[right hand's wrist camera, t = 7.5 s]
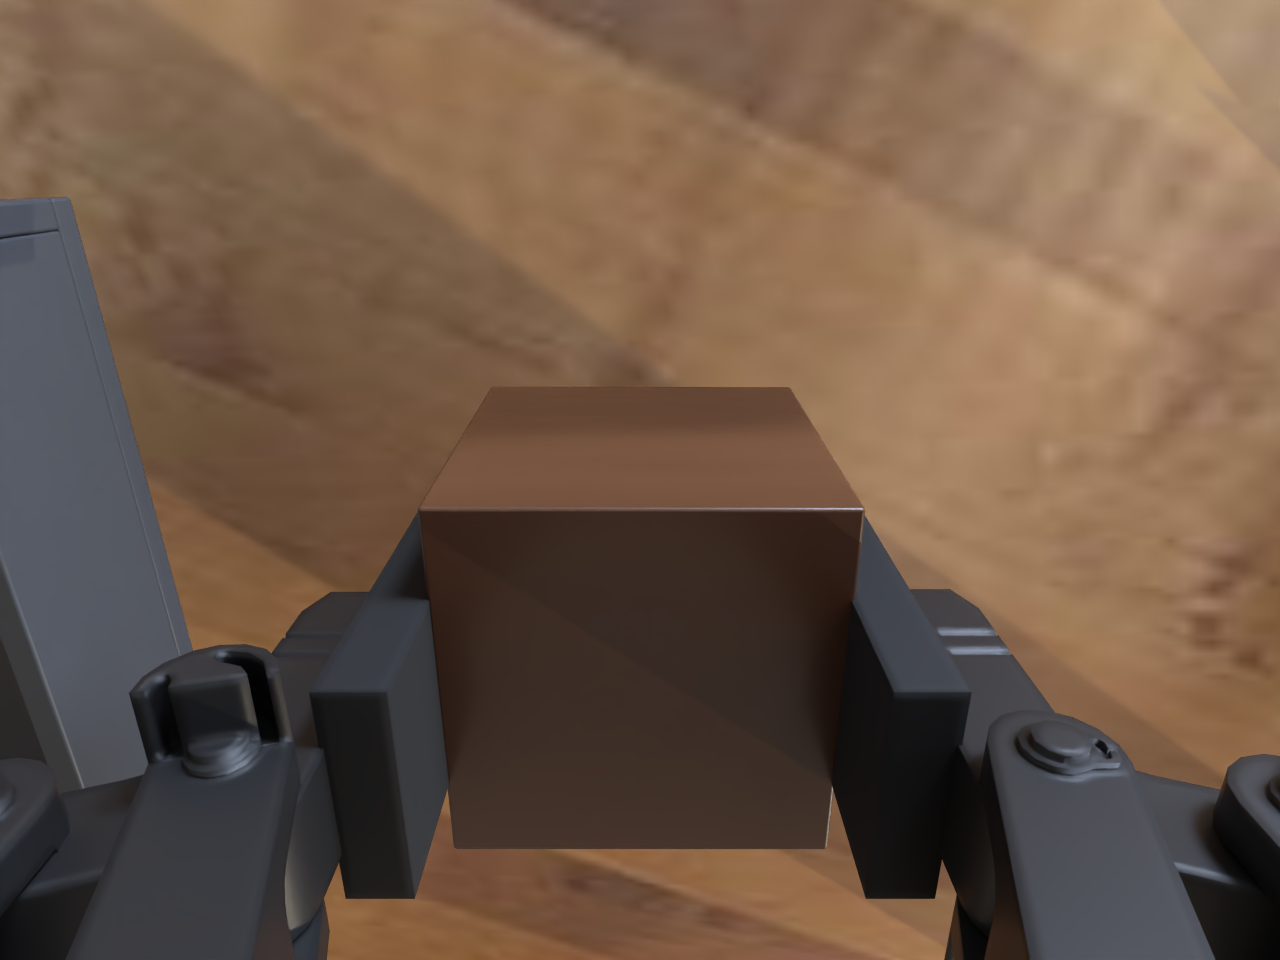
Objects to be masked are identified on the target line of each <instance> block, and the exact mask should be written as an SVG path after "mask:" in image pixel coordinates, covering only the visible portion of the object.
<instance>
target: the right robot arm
mask: <svg viewBox="0 0 1280 960" xmlns="http://www.w3.org/2000/svg"><path fill="white" fill-rule="evenodd" d="M129 696H130V699H131V703H132V707H133V710H134V714H135V718H136V721H137V725H138V728H139V732H140V736H141V739H142V743H143V747H144V750H145V754H146V757H147V761H148V766H147V768H146V770H145V773H144V774H143V775H140V776H136V777H133V778H129V779H125V780H121V781H116V782H112V783H107V784H102V785H98V786H93V787H88V788H83V789H79V790H74V791H69V792H65V793H61V791H60V788H59V785H58V782H57V779H56V776H55V773H54V771H53V770H52V769H51V768H50V767H48V766H47V765H46V764H44V763H43V762H42V761H39V760H32V759H25V758H11V759H3V760H0V960H327V951H328V941H329V925H328V918H327V912H326V907H325V902H324V896H325V894H326V892H327V889H328V887H329V884H330V882H331V880H332V877H333V875H334V873H335V870H336V868H337V865H338V863H340V869H341V875H342V880H343V886H344V891H345V897H346V899H415V896H416V892H417V889H418V886H419V882H420V879H421V876H422V872H423V869H424V866H425V862H426V859H427V856H428V852H429V849H430V846H431V842H432V839H433V836H434V832H435V829H436V826H437V822H438V819H439V815H440V812H441V809H442V805H443V802H444V799H445V795H446V792H447V789H448V785H449V779H448V770H447V761H446V751H445V742H444V733H443V724H442V715H441V706H440V696H439V687H438V678H437V669H436V660H435V650H434V641H433V632H432V623H431V614H430V604H429V600H428V599H427V590H426V581H425V571H424V562H423V553H422V543H421V534H420V525H419V515H418V513H417V514H416V516H415V518H414V519H413V521H412V523H411V524H410V526H409V528H408V529H407V531H406V533H405V534H404V536H403V538H402V539H401V541H400V542H399V544H398V546H397V547H396V549H395V551H394V552H393V554H392V556H391V557H390V559H389V561H388V562H387V564H386V566H385V567H384V569H383V571H382V572H381V574H380V576H379V577H378V579H377V581H376V582H375V584H374V585H373V587H372V589H371V590H370V592H330V593H329V594H327V595H326V596H324V597H323V598H321V599H320V600H318V601H317V602H315V603H314V604H312V605H311V606H309V607H308V608H306V609H305V610H303V611H302V612H301V614H300V615H299V616H298V618H297V619H296V620H295V622H294V623H293V625H292V626H291V627H290V629H289V630H288V631H287V633H286V638H282V640H281V641H280V642H279V644H278V645H277V647H276V648H275V649H274V651H273V652H272V654H271V653H270V652H269V651H268V650H266V649H264V648H259V647H255V646H251V645H246V644H241V645H218V646H214V647H209V648H204V649H200V650H195V651H191V652H189V653H186V654H184V655H181V656H179V657H176V658H174V659H171V660H169V661H167V662H164V663H163V664H161V665H160V666H158V667H157V668H155V669H154V670H152V671H151V672H149V673H147V674H146V675H144V676H143V677H142V678H141V679H140V680H139V682H138V683H137V684H136V685H135V686H134V687H133V689H132V690H131V691H130V692H129ZM832 787H833V790H834V794H835V797H836V800H837V804H838V807H839V810H840V814H841V817H842V820H843V824H844V827H845V830H846V834H847V837H848V840H849V844H850V847H851V850H852V854H853V857H854V860H855V864H856V867H857V871H858V874H859V877H860V881H861V884H862V887H863V891H864V894H865V897H866V899H935V895H936V889H937V884H938V878H939V872H940V867H941V861H942V860H943V862H944V865H945V867H946V869H947V872H948V874H949V876H950V879H951V881H952V884H953V886H954V888H955V891H956V893H957V896H956V902H955V907H954V912H953V917H952V923H951V928H950V933H949V938H948V943H947V949H946V954H945V959H944V960H1280V756H1275V755H1267V754H1261V755H1254V756H1247V757H1241V758H1239V759H1238V760H1237V761H1236V762H1234V763H1233V764H1232V765H1230V766H1229V767H1228V769H1227V772H1226V775H1225V778H1224V781H1223V784H1222V787H1221V790H1219V789H1214V788H1209V787H1204V786H1200V785H1195V784H1190V783H1186V782H1181V781H1176V780H1171V779H1167V778H1162V777H1157V776H1154V775H1150V774H1146V773H1143V772H1139V771H1136V770H1135V769H1134V766H1133V764H1132V762H1131V761H1130V759H1129V758H1128V757H1127V755H1126V754H1125V752H1124V751H1123V750H1122V748H1121V747H1120V745H1118V744H1117V743H1116V742H1114V741H1113V740H1112V739H1111V738H1109V737H1108V736H1107V735H1105V734H1104V733H1103V732H1101V731H1100V730H1099V729H1097V728H1094V727H1092V726H1090V725H1088V724H1086V723H1084V722H1081V721H1079V720H1077V719H1075V718H1073V717H1069V716H1065V715H1061V714H1057V713H1055V712H1054V711H1053V709H1052V708H1051V707H1050V705H1049V704H1048V703H1047V701H1046V700H1045V698H1044V697H1043V696H1042V694H1041V693H1040V692H1039V690H1038V689H1037V687H1036V686H1035V685H1034V683H1033V682H1032V681H1031V679H1030V678H1029V676H1028V675H1027V674H1026V672H1025V671H1024V670H1023V668H1022V667H1021V666H1020V664H1019V663H1018V661H1017V660H1016V659H1015V657H1014V656H1013V655H1012V654H1009V649H1008V648H1007V646H1006V645H1005V644H1004V642H1003V641H1002V640H1001V638H1000V637H999V636H996V635H995V630H994V629H993V627H992V626H991V624H990V623H989V622H988V620H987V619H986V618H985V616H984V615H983V613H982V612H981V611H980V609H979V608H977V607H976V606H974V605H973V604H971V603H970V602H968V601H967V600H965V599H964V598H962V597H961V596H959V595H958V594H956V593H955V592H953V591H952V590H950V589H909V588H908V586H907V585H906V583H905V581H904V580H903V578H902V576H901V575H900V573H899V571H898V570H897V568H896V566H895V565H894V563H893V561H892V560H891V558H890V556H889V555H888V553H887V551H886V550H885V548H884V547H883V545H882V543H881V542H880V540H879V538H878V537H877V535H876V533H875V532H874V530H873V528H872V527H871V525H870V523H869V522H868V520H867V518H866V517H864V526H863V535H862V543H861V552H860V561H859V570H858V579H857V587H856V596H855V600H852V602H851V611H850V620H849V629H848V638H847V647H846V656H845V665H844V675H843V684H842V693H841V702H840V711H839V720H838V729H837V738H836V748H835V757H834V766H833V775H832Z"/></svg>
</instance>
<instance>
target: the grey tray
mask: <svg viewBox="0 0 1280 960" xmlns="http://www.w3.org/2000/svg"><path fill="white" fill-rule="evenodd" d="M191 651H193V649H192V645H191V642H190V638H189V634H188V631H187V627H186V623H185V619H184V616H183V612H182V608H181V605H180V601H179V597H178V594H177V590H176V586H175V583H174V579H173V575H172V572H171V568H170V564H169V561H168V557H167V553H166V550H165V546H164V542H163V539H162V535H161V531H160V528H159V524H158V520H157V517H156V513H155V509H154V506H153V502H152V498H151V494H150V491H149V487H148V483H147V480H146V476H145V472H144V469H143V465H142V461H141V458H140V454H139V450H138V447H137V443H136V439H135V436H134V432H133V428H132V425H131V421H130V417H129V414H128V410H127V406H126V403H125V399H124V395H123V392H122V388H121V384H120V380H119V377H118V373H117V369H116V366H115V362H114V358H113V355H112V351H111V347H110V344H109V340H108V336H107V333H106V329H105V325H104V322H103V318H102V314H101V311H100V307H99V303H98V300H97V296H96V292H95V289H94V285H93V281H92V278H91V274H90V270H89V267H88V263H87V259H86V255H85V252H84V248H83V244H82V241H81V237H80V233H79V230H78V226H77V222H76V219H75V215H74V211H73V208H72V204H71V201H70V199H69V198H66V197H54V198H24V199H0V760H3V759H11V758H25V759H32V760H39V761H42V762H43V763H44V764H46V765H47V766H48V767H50V768H51V769H52V770H53V771H54V773H55V776H56V779H57V782H58V785H59V788H60V791H61V793H65V792H69V791H74V790H79V789H83V788H88V787H93V786H98V785H102V784H107V783H112V782H116V781H121V780H125V779H129V778H133V777H136V776H140V775H143V774H144V773H145V770H146V768H147V766H148V761H147V757H146V754H145V750H144V747H143V743H142V739H141V736H140V732H139V728H138V725H137V721H136V718H135V714H134V710H133V707H132V703H131V699H130V696H129V692H130V691H131V690H132V689H133V687H134V686H135V685H136V684H137V683H138V682H139V680H140V679H141V678H142V677H143V676H144V675H146V674H147V673H149V672H151V671H152V670H154V669H155V668H157V667H158V666H160V665H161V664H163V663H164V662H167V661H169V660H171V659H174V658H176V657H179V656H181V655H184V654H186V653H189V652H191Z"/></svg>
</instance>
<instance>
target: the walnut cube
mask: <svg viewBox="0 0 1280 960" xmlns="http://www.w3.org/2000/svg"><path fill="white" fill-rule="evenodd" d="M418 515H419V525H420V534H421V543H422V553H423V562H424V571H425V581H426V590H427V599H428V600H429V604H430V614H431V623H432V632H433V641H434V650H435V660H436V669H437V678H438V687H439V696H440V706H441V715H442V724H443V733H444V742H445V751H446V761H447V770H448V779H449V785H448V795H449V805H450V814H451V823H452V833H453V842H454V847H455V848H457V849H825V848H826V847H827V842H828V833H829V824H830V816H831V807H832V798H833V787H832V775H833V766H834V757H835V748H836V738H837V729H838V720H839V711H840V702H841V693H842V684H843V675H844V665H845V656H846V647H847V638H848V629H849V620H850V611H851V602H852V600H855V596H856V587H857V579H858V570H859V561H860V552H861V543H862V535H863V526H864V517H865V509H864V507H863V505H862V504H861V502H860V501H859V499H858V497H857V496H856V494H855V492H854V491H853V489H852V488H851V486H850V484H849V483H848V481H847V479H846V478H845V476H844V475H843V473H842V471H841V470H840V468H839V466H838V465H837V463H836V462H835V460H834V458H833V457H832V455H831V454H830V452H829V450H828V449H827V447H826V445H825V444H824V442H823V441H822V439H821V437H820V436H819V434H818V432H817V431H816V429H815V428H814V426H813V424H812V423H811V421H810V419H809V418H808V416H807V415H806V413H805V411H804V410H803V408H802V407H801V405H800V403H799V402H798V400H797V398H796V397H795V395H794V394H793V392H792V390H791V389H790V388H788V387H492V388H491V389H490V391H489V392H488V394H487V396H486V397H485V399H484V401H483V402H482V404H481V406H480V407H479V409H478V411H477V412H476V414H475V415H474V417H473V419H472V420H471V422H470V424H469V425H468V427H467V429H466V430H465V432H464V434H463V435H462V437H461V439H460V440H459V442H458V444H457V445H456V447H455V449H454V450H453V452H452V454H451V455H450V457H449V458H448V460H447V462H446V463H445V465H444V467H443V468H442V470H441V472H440V473H439V475H438V477H437V478H436V480H435V482H434V483H433V485H432V487H431V488H430V490H429V492H428V493H427V495H426V497H425V498H424V500H423V502H422V503H421V505H420V506H419V509H418Z"/></svg>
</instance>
